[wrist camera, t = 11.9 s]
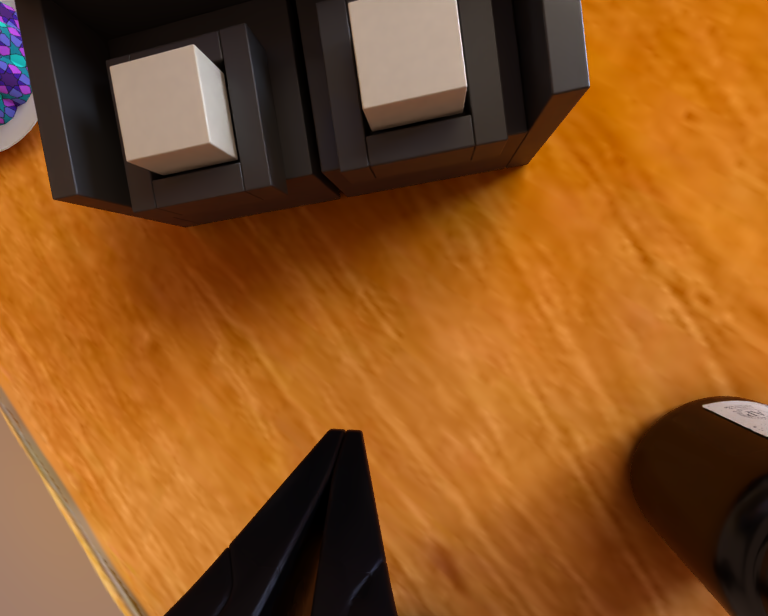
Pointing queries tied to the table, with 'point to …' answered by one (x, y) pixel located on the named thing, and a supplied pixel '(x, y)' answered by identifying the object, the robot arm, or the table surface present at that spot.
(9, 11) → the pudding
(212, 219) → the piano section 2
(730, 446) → the ink bottle
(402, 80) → the key
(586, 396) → the table surface
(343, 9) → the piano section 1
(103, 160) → the black hollow block
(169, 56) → the key
